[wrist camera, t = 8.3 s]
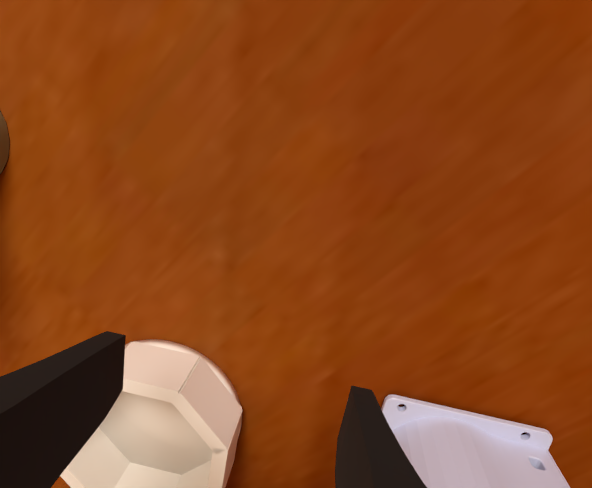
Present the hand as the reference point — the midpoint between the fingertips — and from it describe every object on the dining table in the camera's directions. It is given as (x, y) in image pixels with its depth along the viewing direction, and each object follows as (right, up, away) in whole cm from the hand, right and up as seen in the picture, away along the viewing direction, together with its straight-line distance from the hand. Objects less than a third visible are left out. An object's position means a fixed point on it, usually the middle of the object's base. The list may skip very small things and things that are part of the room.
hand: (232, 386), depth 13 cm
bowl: (-6, -6, +14) cm, 16 cm away
